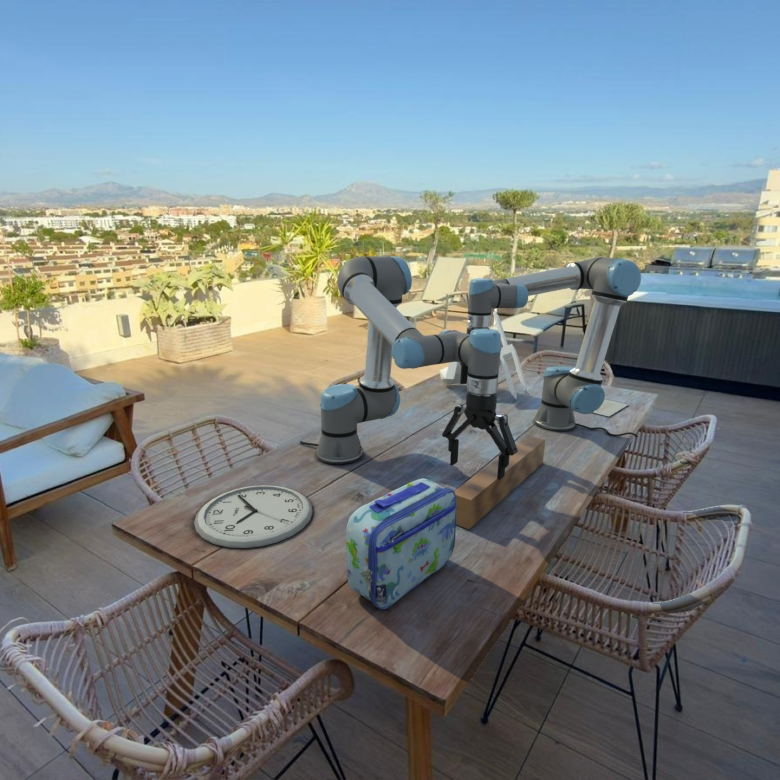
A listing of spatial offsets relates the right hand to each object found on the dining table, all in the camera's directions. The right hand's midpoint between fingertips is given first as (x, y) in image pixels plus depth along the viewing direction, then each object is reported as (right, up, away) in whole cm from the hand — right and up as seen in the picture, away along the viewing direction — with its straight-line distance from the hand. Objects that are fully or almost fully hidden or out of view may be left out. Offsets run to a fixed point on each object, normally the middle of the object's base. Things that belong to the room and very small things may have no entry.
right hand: (474, 389), depth 177 cm
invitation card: (+63, -8, +50) cm, 81 cm away
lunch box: (-26, -41, -64) cm, 80 cm away
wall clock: (-64, -33, -39) cm, 82 cm away
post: (+4, -29, -23) cm, 38 cm away
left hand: (-6, -21, -41) cm, 46 cm away
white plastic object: (+13, -1, +67) cm, 68 cm away
